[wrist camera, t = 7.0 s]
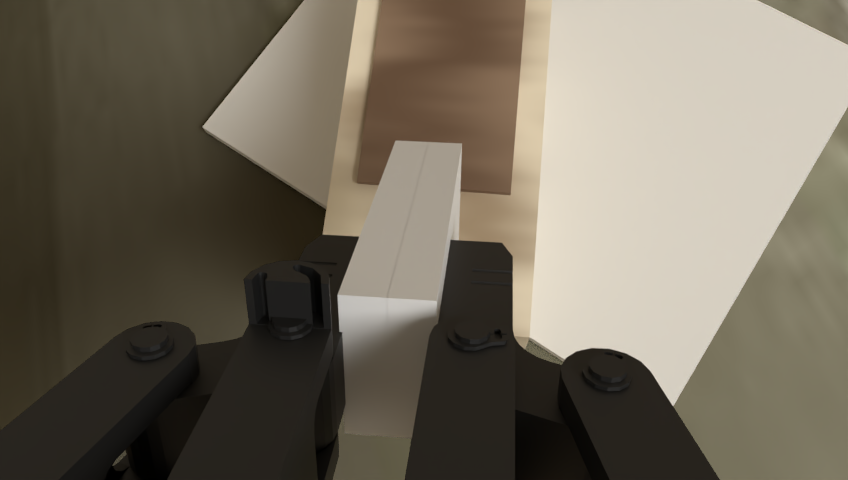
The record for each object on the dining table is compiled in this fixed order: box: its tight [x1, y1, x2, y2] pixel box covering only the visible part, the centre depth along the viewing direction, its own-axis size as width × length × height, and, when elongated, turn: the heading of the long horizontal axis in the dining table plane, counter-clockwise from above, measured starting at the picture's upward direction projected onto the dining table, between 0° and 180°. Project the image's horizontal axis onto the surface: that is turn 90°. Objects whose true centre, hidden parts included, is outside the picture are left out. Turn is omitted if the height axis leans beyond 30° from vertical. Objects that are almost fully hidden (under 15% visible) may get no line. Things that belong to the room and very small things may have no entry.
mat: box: [203, 0, 848, 406], centre depth 30 cm, size 20×16×1 cm
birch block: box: [323, 0, 552, 349], centre depth 26 cm, size 6×6×14 cm
